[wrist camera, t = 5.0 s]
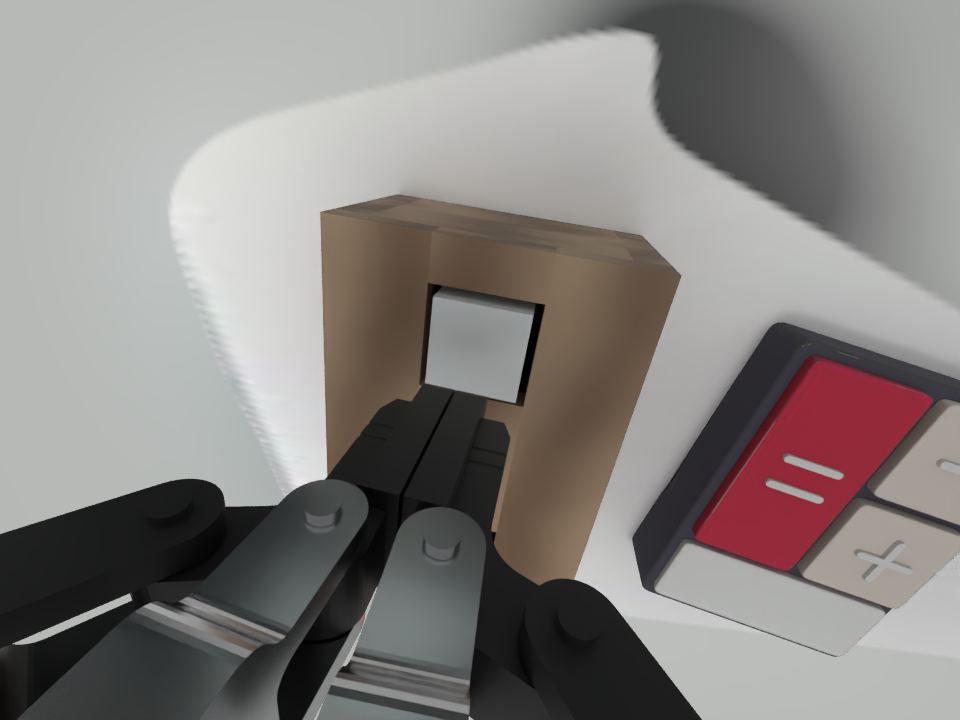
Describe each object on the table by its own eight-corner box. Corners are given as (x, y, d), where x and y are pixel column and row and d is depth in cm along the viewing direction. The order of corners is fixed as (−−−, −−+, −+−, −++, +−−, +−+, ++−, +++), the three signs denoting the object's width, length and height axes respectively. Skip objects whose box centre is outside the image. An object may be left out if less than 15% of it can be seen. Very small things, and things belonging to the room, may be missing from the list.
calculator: (1107, 441, 16) (849, 675, 22) (997, 389, 20) (804, 600, 26) (815, 344, 16) (641, 602, 22) (764, 312, 20) (628, 539, 26)
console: (641, 235, 19) (681, 275, 12) (556, 520, 26) (554, 633, 20) (397, 194, 20) (320, 212, 13) (383, 479, 27) (330, 575, 21)
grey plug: (543, 264, 19) (533, 315, 13) (529, 329, 21) (515, 403, 15) (474, 252, 20) (432, 296, 14) (465, 317, 21) (425, 383, 15)
